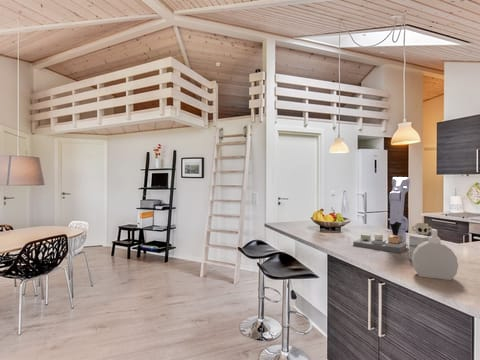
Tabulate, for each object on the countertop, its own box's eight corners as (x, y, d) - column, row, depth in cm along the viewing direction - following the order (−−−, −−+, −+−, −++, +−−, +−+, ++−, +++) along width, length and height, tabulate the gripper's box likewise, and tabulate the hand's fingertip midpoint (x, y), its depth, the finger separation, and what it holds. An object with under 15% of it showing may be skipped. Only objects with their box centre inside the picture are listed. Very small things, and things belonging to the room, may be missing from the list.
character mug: (412, 244, 190) (413, 223, 190) (410, 242, 197) (411, 222, 197) (432, 245, 186) (433, 224, 186) (430, 243, 193) (430, 223, 193)
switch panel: (361, 242, 195) (361, 235, 195) (405, 248, 178) (405, 241, 178) (353, 245, 185) (353, 238, 185) (399, 252, 167) (399, 245, 167)
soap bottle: (454, 277, 126) (455, 230, 126) (458, 281, 121) (458, 232, 121) (411, 272, 132) (411, 227, 132) (413, 275, 127) (413, 229, 127)
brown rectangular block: (393, 239, 180) (393, 234, 180) (402, 240, 177) (402, 235, 177) (388, 242, 173) (388, 236, 173) (397, 243, 170) (397, 238, 170)
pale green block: (362, 238, 192) (362, 233, 192) (370, 239, 189) (370, 234, 189) (360, 238, 190) (360, 234, 190) (368, 240, 187) (369, 235, 187)
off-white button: (376, 238, 184) (376, 233, 184) (383, 239, 181) (383, 234, 181) (373, 239, 180) (373, 234, 180) (381, 240, 177) (381, 235, 177)
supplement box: (408, 259, 154) (408, 235, 154) (417, 257, 157) (418, 233, 157) (422, 263, 147) (422, 237, 147) (431, 261, 150) (432, 236, 150)
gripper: (391, 210, 183) (391, 232, 183) (384, 212, 172) (384, 235, 172) (404, 211, 178) (404, 234, 179) (397, 213, 168) (397, 237, 168)
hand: (395, 235), depth 175 cm, fingers closed
